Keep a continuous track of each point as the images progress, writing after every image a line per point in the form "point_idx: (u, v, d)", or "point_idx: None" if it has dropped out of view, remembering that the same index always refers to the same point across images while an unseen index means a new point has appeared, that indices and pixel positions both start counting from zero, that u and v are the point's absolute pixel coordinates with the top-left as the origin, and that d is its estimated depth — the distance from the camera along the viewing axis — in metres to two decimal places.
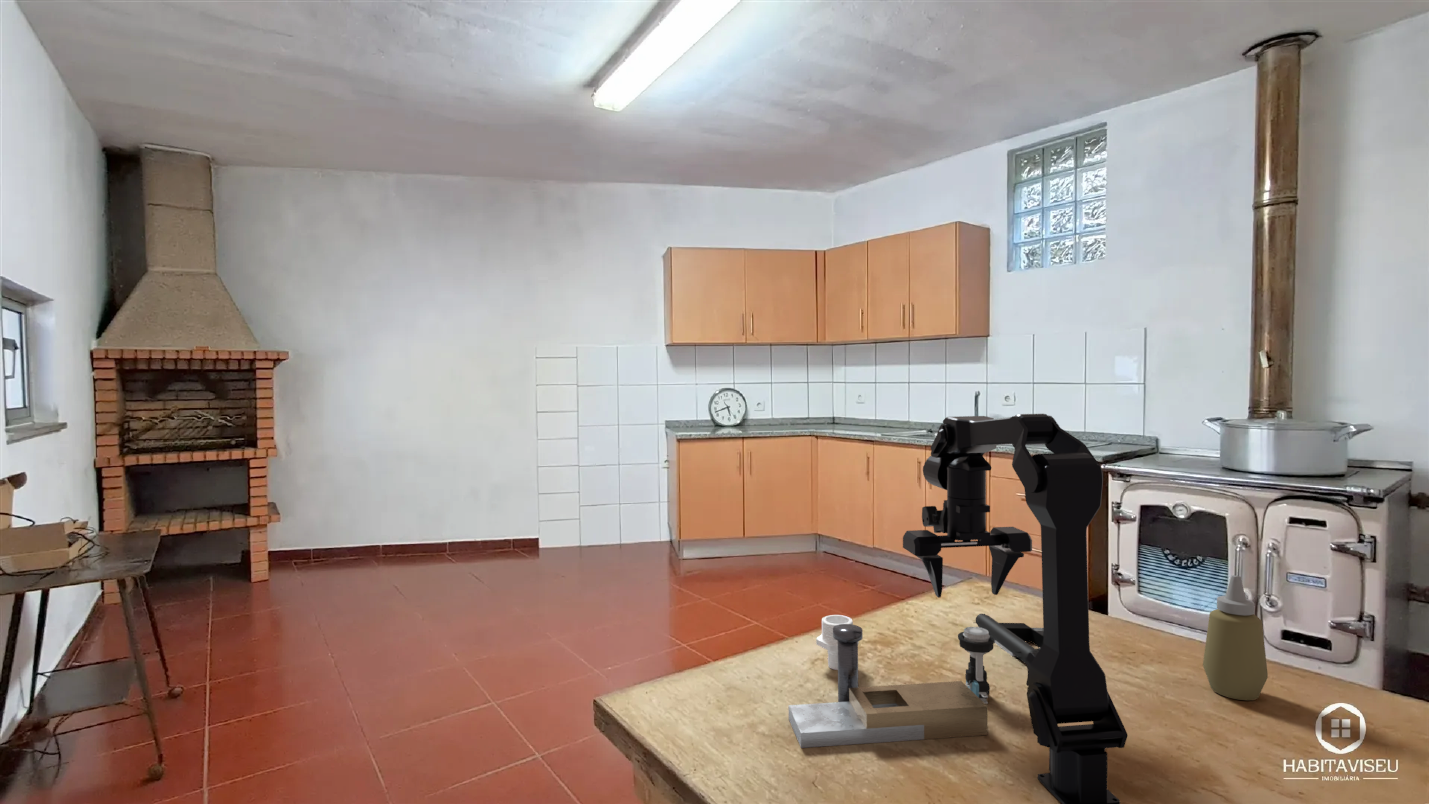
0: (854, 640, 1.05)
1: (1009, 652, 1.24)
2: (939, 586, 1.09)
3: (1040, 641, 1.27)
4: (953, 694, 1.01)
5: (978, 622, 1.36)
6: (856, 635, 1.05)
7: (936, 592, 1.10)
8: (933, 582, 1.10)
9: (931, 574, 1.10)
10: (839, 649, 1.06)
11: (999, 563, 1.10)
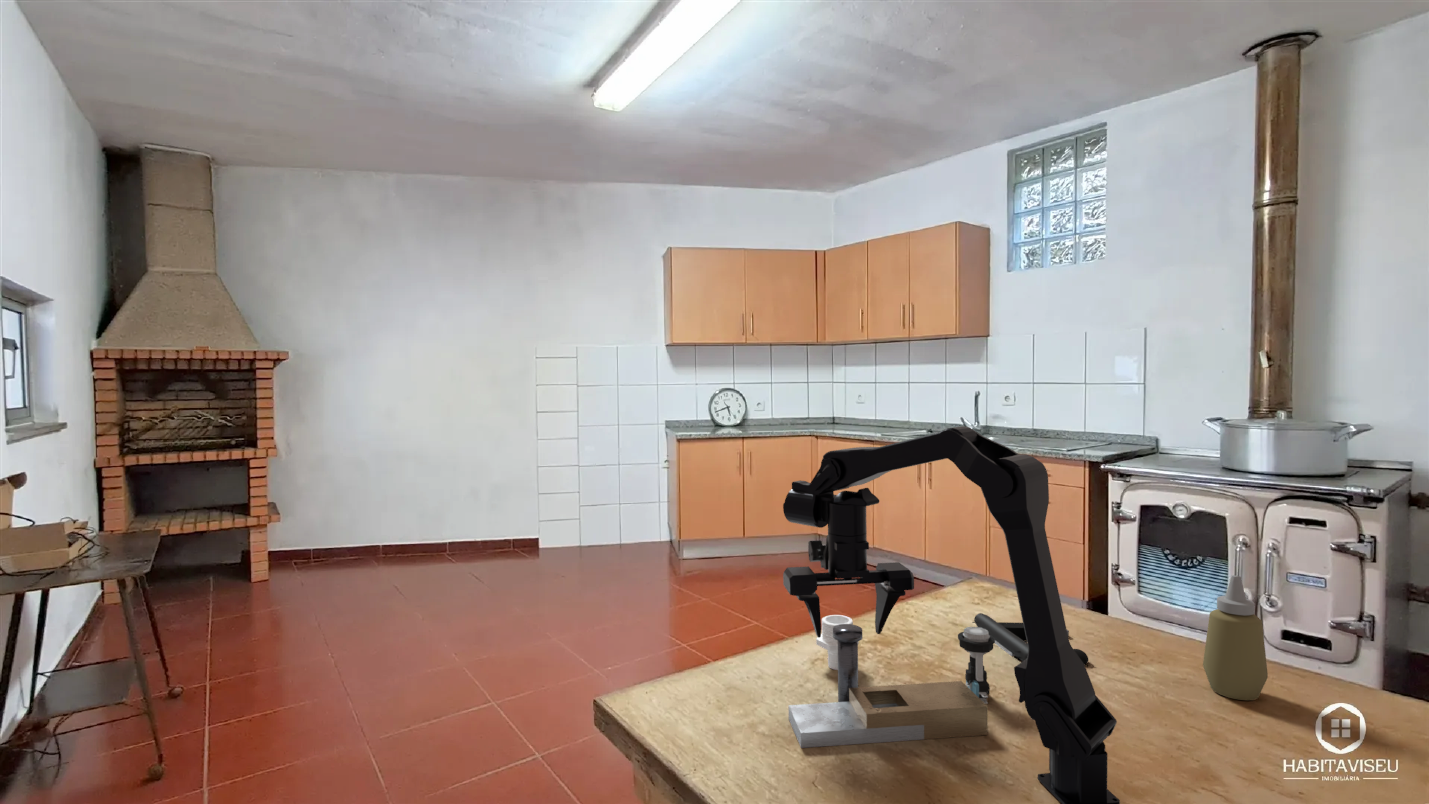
0: (854, 640, 1.05)
1: (1008, 652, 1.25)
2: (818, 626, 1.05)
3: None
4: (953, 694, 1.01)
5: (977, 622, 1.36)
6: (856, 635, 1.05)
7: (816, 632, 1.06)
8: (812, 621, 1.06)
9: (810, 613, 1.06)
10: (839, 649, 1.06)
11: (881, 601, 1.06)
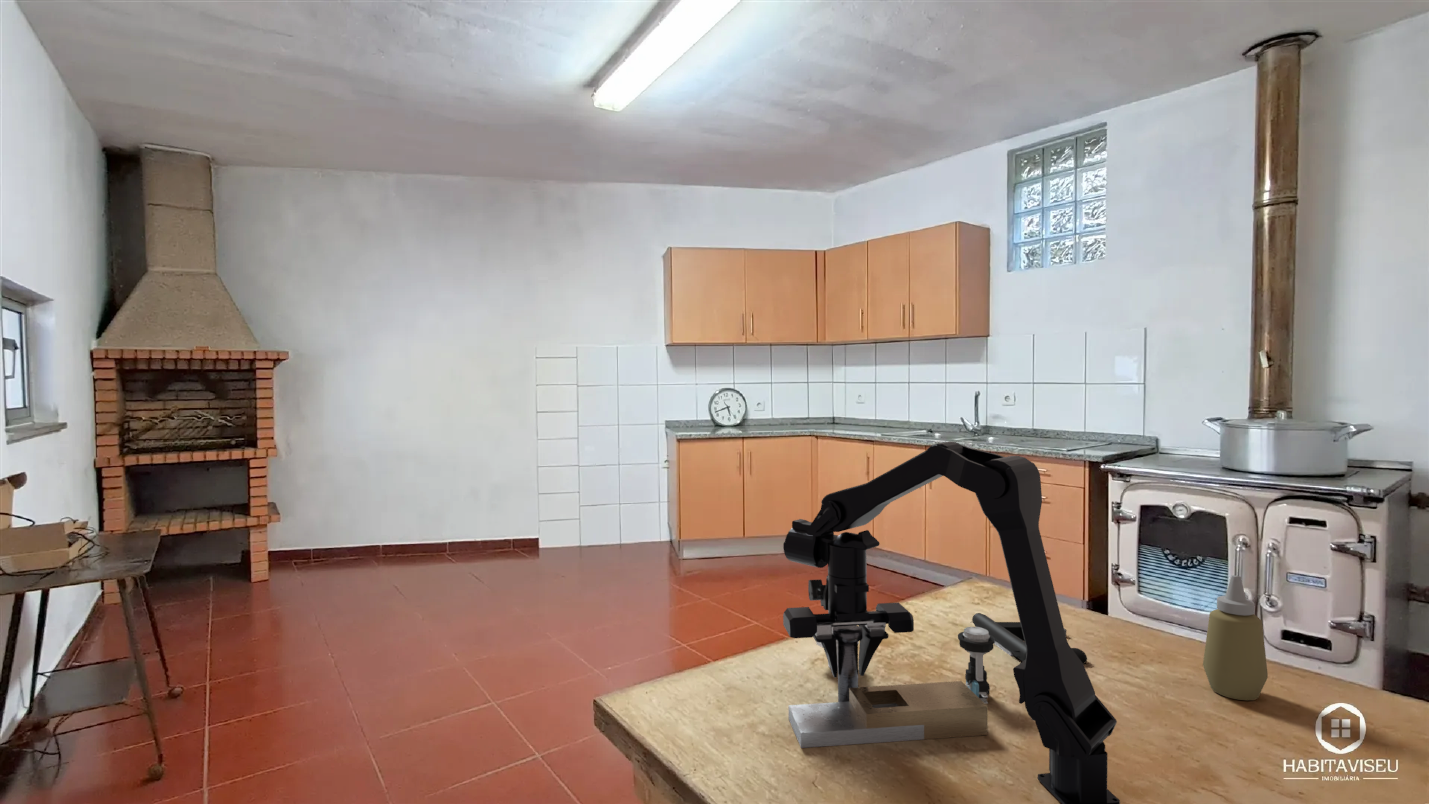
0: (854, 640, 1.05)
1: (1007, 651, 1.25)
2: (834, 666, 1.06)
3: None
4: (953, 694, 1.01)
5: (975, 621, 1.36)
6: (856, 635, 1.05)
7: (832, 672, 1.07)
8: (829, 661, 1.07)
9: (827, 653, 1.06)
10: (839, 649, 1.06)
11: (864, 643, 1.06)
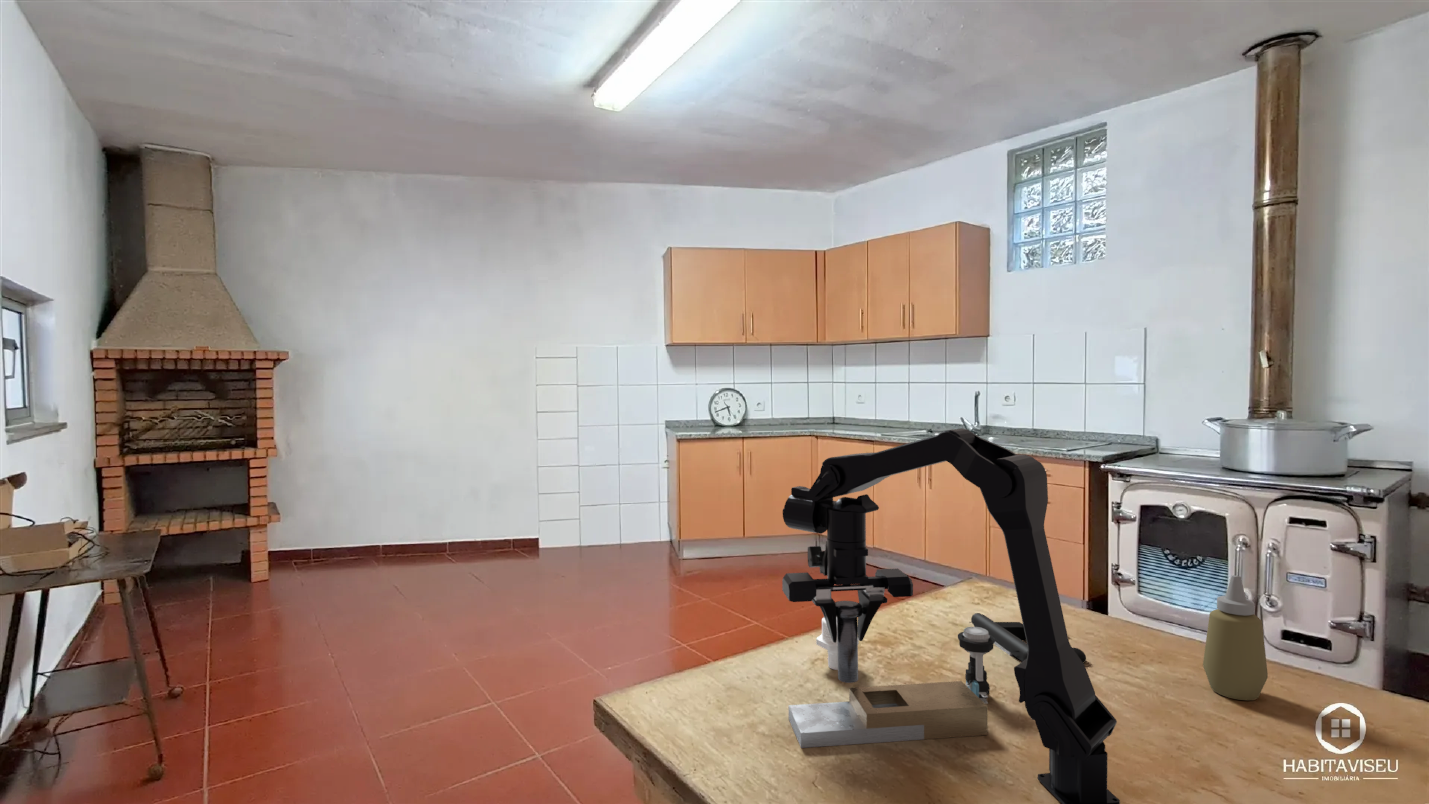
0: (853, 616, 1.05)
1: (1006, 651, 1.25)
2: (833, 631, 1.05)
3: None
4: (953, 694, 1.01)
5: (974, 621, 1.36)
6: (856, 611, 1.05)
7: (831, 637, 1.07)
8: (828, 626, 1.06)
9: (826, 618, 1.06)
10: (838, 625, 1.06)
11: (863, 608, 1.06)
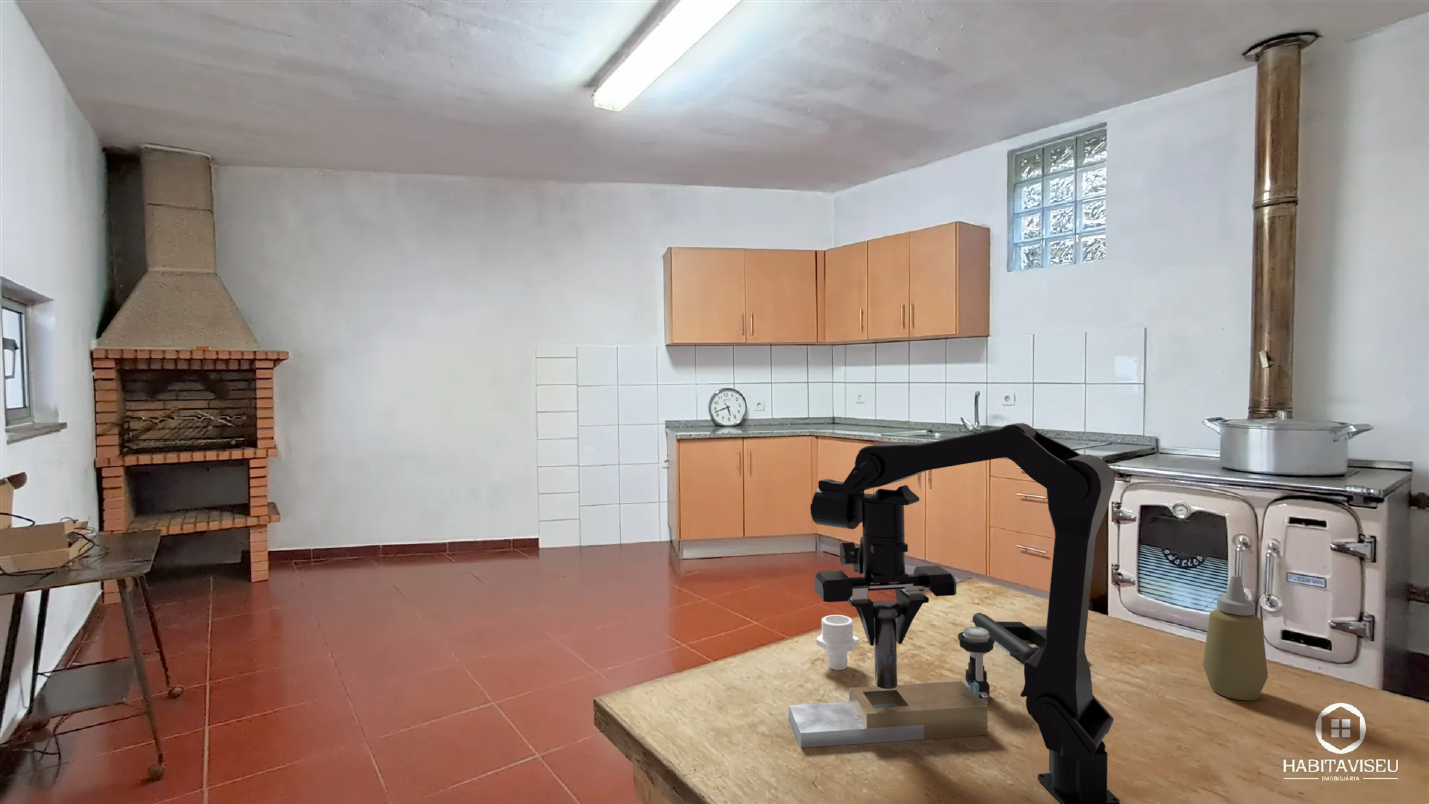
0: (892, 617, 0.97)
1: (1006, 651, 1.25)
2: (871, 633, 0.98)
3: (1037, 639, 1.28)
4: (953, 694, 1.01)
5: (975, 621, 1.37)
6: (895, 611, 0.97)
7: (868, 640, 0.99)
8: (865, 629, 0.99)
9: (862, 620, 0.99)
10: (876, 627, 0.99)
11: (902, 609, 0.98)
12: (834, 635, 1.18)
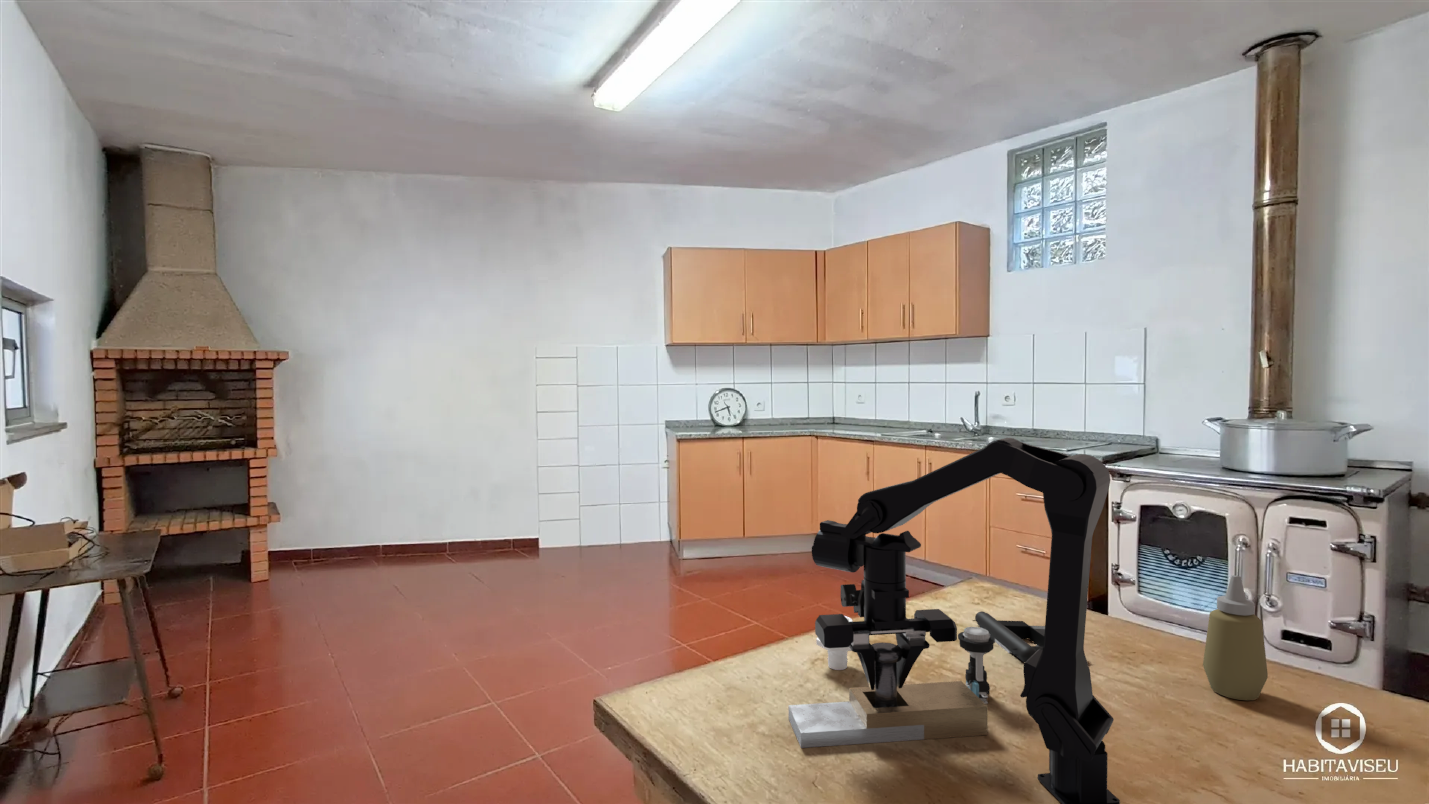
0: (893, 661, 0.97)
1: (1006, 649, 1.26)
2: (871, 678, 0.98)
3: (1038, 639, 1.28)
4: (953, 694, 1.01)
5: (977, 620, 1.37)
6: (896, 655, 0.97)
7: (869, 684, 0.99)
8: (865, 673, 0.99)
9: (863, 664, 0.99)
10: (876, 670, 0.99)
11: (903, 653, 0.99)
12: None
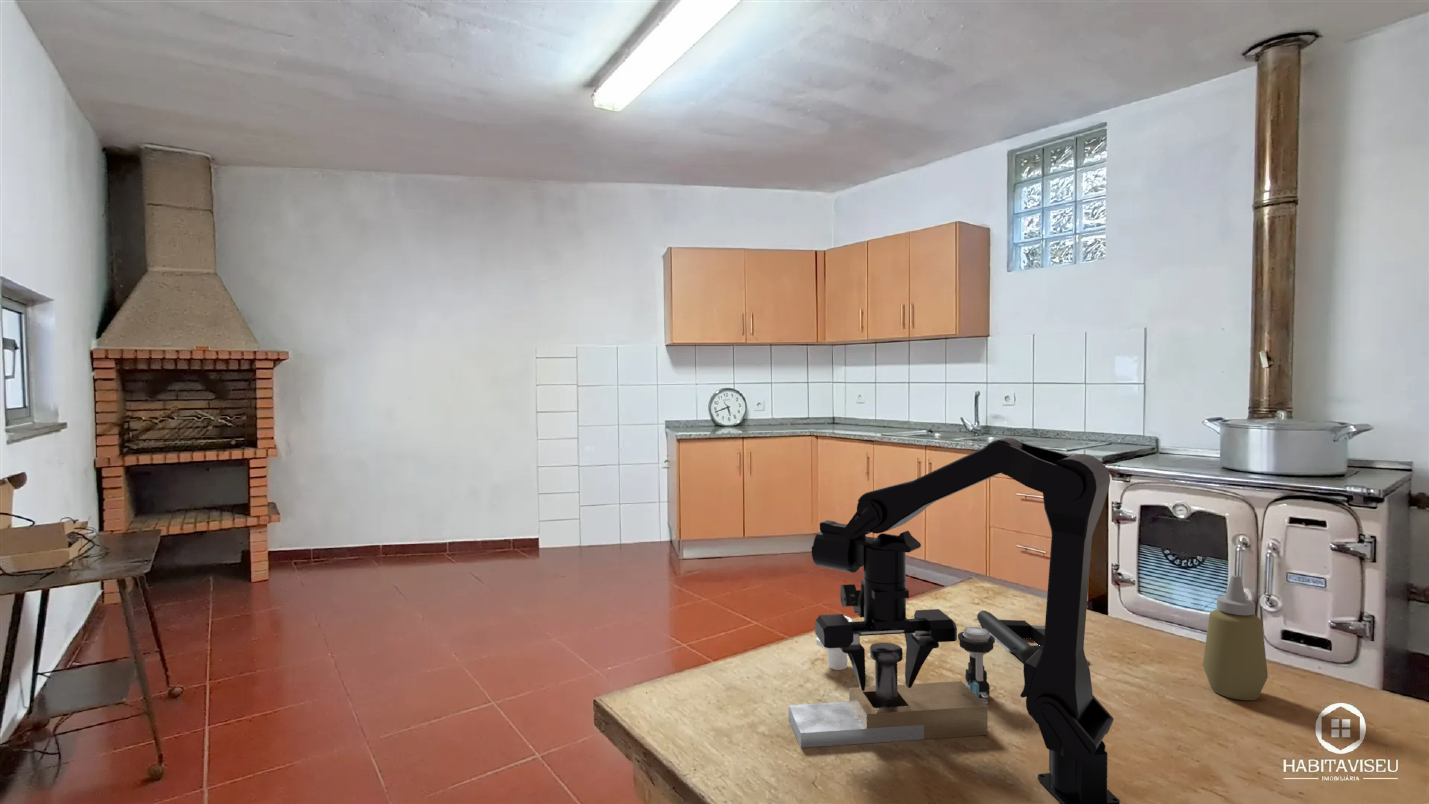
0: (894, 661, 0.97)
1: (1006, 648, 1.26)
2: (862, 679, 0.98)
3: (1038, 638, 1.28)
4: (953, 694, 1.01)
5: (979, 619, 1.38)
6: (896, 655, 0.97)
7: (859, 685, 0.99)
8: (856, 674, 0.99)
9: (854, 665, 0.99)
10: (877, 670, 0.99)
11: (912, 653, 0.99)
12: None
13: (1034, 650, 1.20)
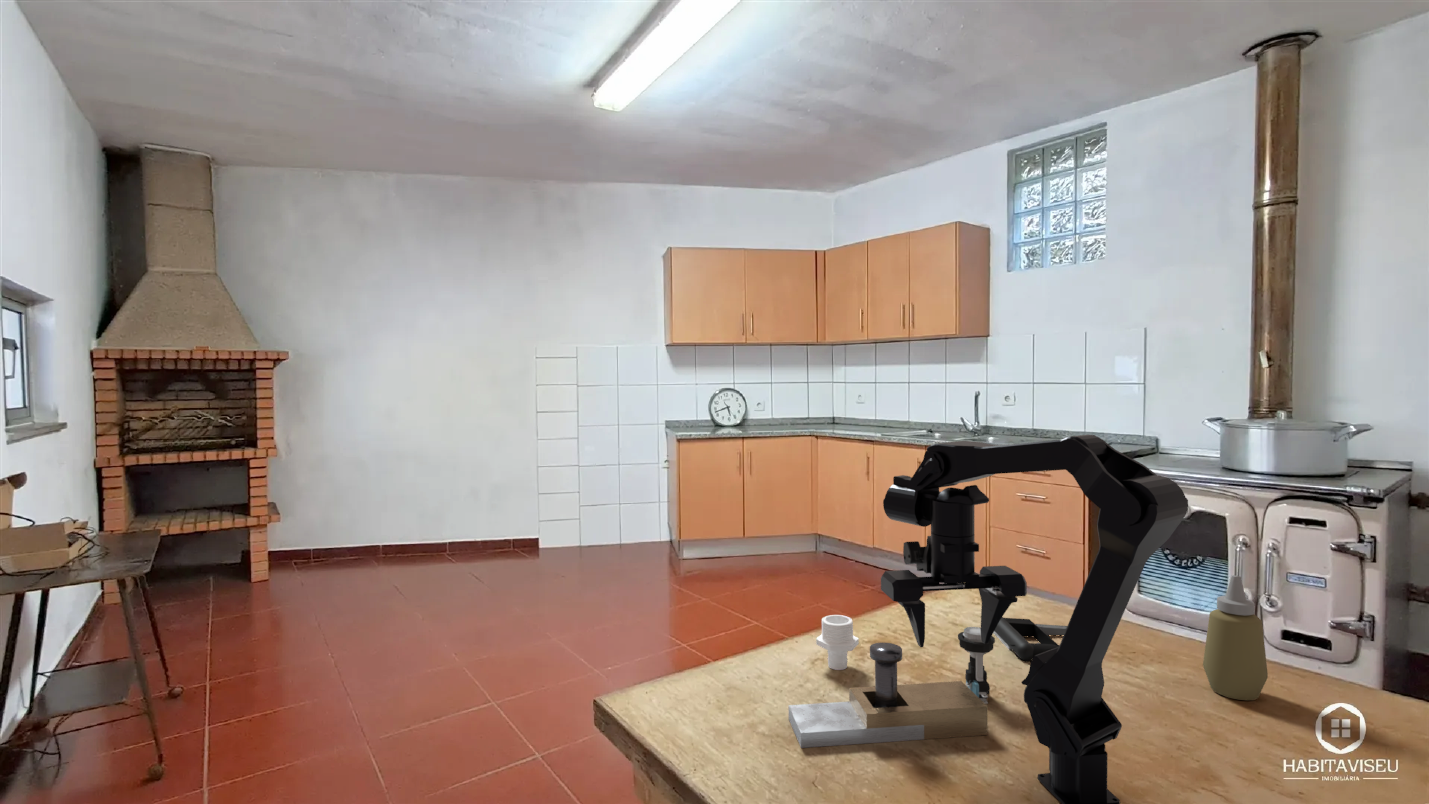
0: (894, 661, 0.97)
1: (1006, 645, 1.28)
2: (921, 635, 0.96)
3: (1041, 637, 1.29)
4: (953, 694, 1.01)
5: None
6: (896, 655, 0.97)
7: (918, 641, 0.97)
8: (915, 630, 0.97)
9: (912, 621, 0.97)
10: (877, 670, 0.99)
11: (989, 608, 0.98)
12: (834, 635, 1.18)
13: (1031, 648, 1.21)
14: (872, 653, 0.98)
